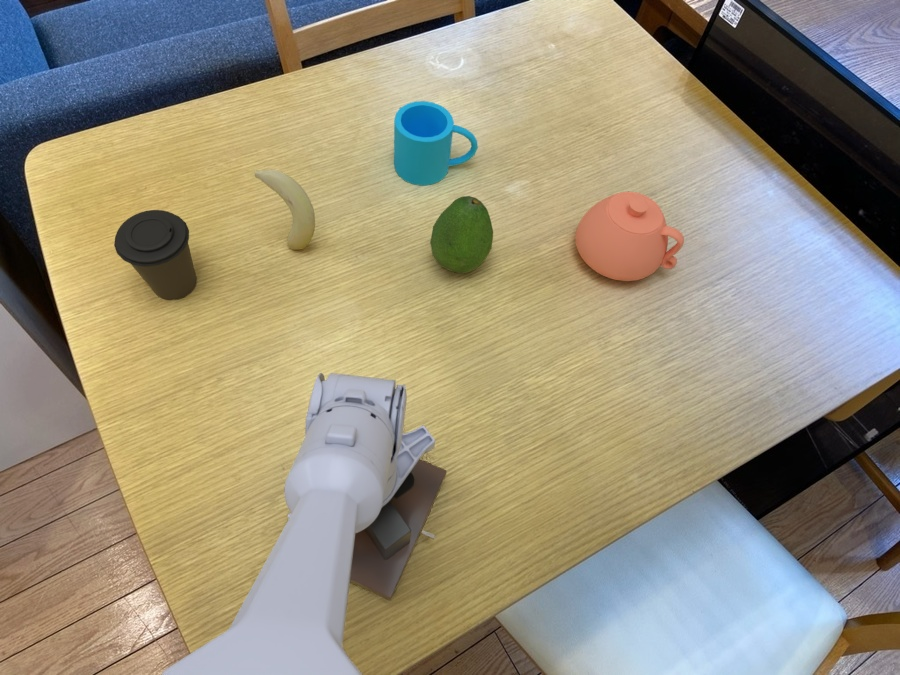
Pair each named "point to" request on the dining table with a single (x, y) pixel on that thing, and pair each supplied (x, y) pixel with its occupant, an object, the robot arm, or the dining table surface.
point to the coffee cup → (158, 252)
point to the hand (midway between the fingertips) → (367, 504)
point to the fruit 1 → (292, 206)
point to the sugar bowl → (626, 237)
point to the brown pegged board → (414, 510)
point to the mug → (426, 142)
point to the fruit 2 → (462, 235)
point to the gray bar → (389, 531)
